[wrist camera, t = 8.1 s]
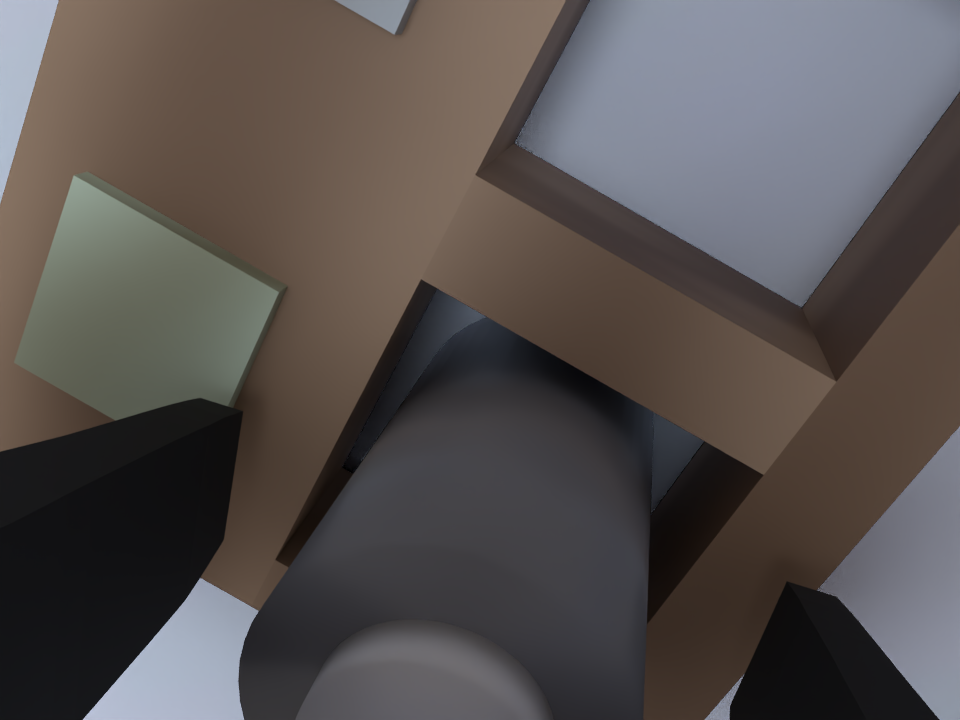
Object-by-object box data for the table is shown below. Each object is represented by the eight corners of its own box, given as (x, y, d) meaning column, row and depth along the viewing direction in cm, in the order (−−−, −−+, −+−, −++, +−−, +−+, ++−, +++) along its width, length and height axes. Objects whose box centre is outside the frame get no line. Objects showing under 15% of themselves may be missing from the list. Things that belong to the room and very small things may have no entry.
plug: (684, 349, 14) (702, 670, 7) (615, 556, 16) (572, 984, 9) (442, 281, 15) (235, 524, 8) (397, 490, 16) (191, 851, 9)
